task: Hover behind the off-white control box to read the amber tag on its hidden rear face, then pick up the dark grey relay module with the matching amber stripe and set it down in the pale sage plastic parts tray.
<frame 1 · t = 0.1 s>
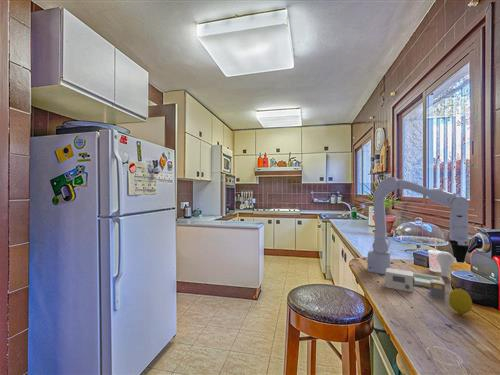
hand: (458, 259, 100), 10 cm above the countertop, fingers open, 7 cm apart
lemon: (460, 314, 77), on the countertop
beverage cup: (435, 270, 118), on the countertop
control box: (399, 286, 98), on the countertop
parts tray: (426, 282, 102), on the countertop
lightbulb: (445, 277, 109), on the countertop
relay module: (437, 295, 91), on the countertop
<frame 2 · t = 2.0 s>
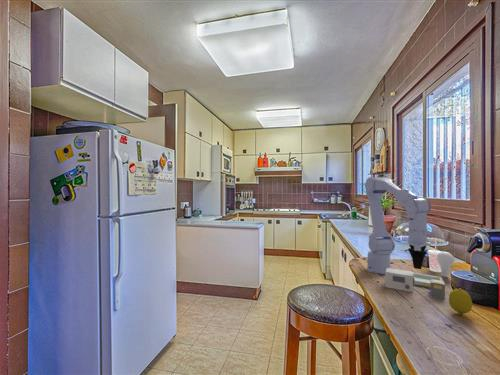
hand: (417, 265, 95), 9 cm above the countertop, fingers open, 7 cm apart
nothing on the countertop moved.
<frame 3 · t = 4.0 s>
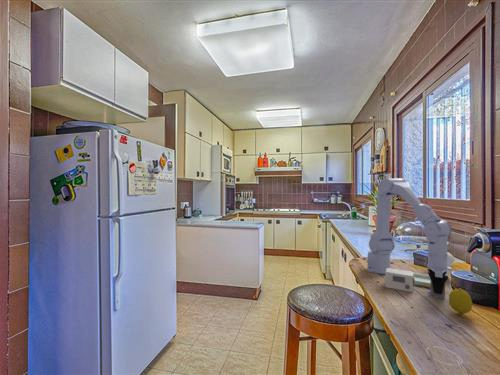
hand: (437, 291, 91), 1 cm above the countertop, fingers closed on relay module, 4 cm apart
relay module: (437, 295, 91), on the countertop, touching gripper
everything else where it was.
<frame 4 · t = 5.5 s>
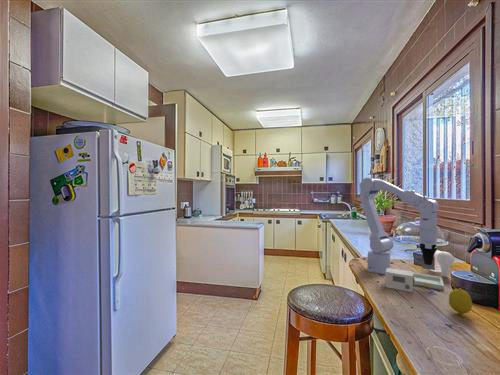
hand: (427, 262, 100), 9 cm above the countertop, fingers closed on relay module, 4 cm apart
relay module: (428, 268, 100), point 7 cm above the countertop, touching gripper
everything else where it was.
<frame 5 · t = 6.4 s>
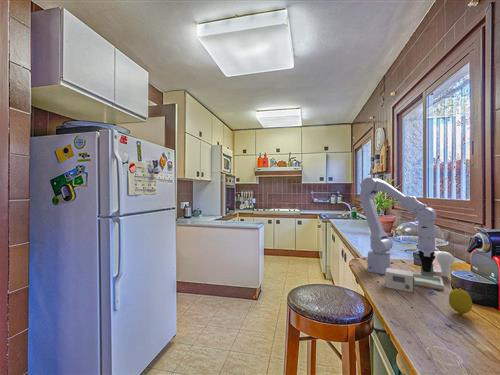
hand: (426, 270, 102), 5 cm above the countertop, fingers closed on relay module, 4 cm apart
relay module: (427, 275, 102), point 3 cm above the countertop, touching gripper
everything else where it was.
when the fingers open (3 cm above the countertop, at t = 7.3 s): relay module stays where it is, resting on parts tray.
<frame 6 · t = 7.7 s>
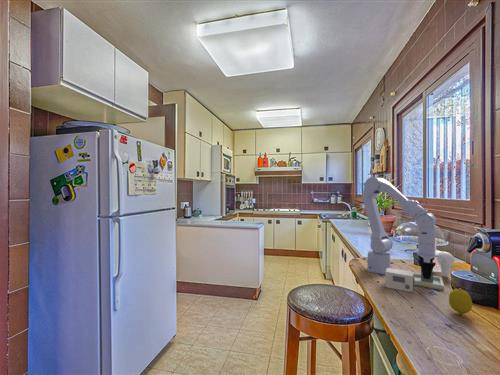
hand: (426, 275, 102), 3 cm above the countertop, fingers open, 7 cm apart
relay module: (426, 281, 102), resting on parts tray
everything else where it was.
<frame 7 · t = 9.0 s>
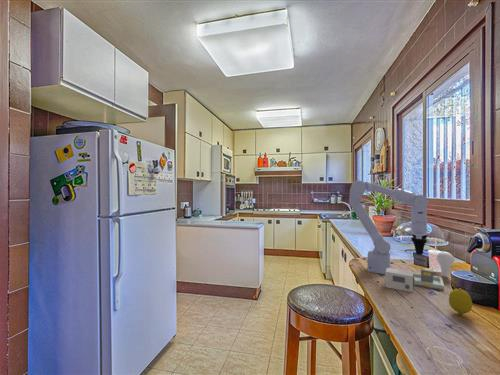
hand: (419, 252, 110), 10 cm above the countertop, fingers open, 7 cm apart
nothing on the countertop moved.
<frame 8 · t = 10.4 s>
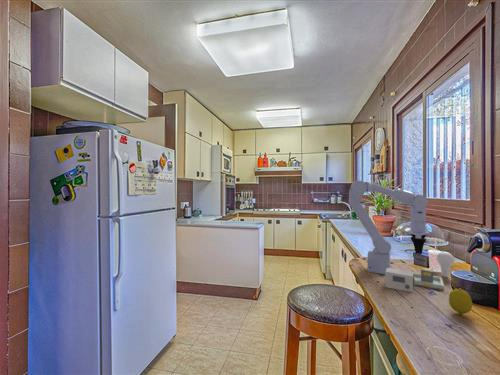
hand: (418, 251, 111), 10 cm above the countertop, fingers open, 7 cm apart
nothing on the countertop moved.
at the end: relay module inside the target area on the parts tray (0.1 cm from its centre), point 0.5 cm above the parts tray's base; the gripper is holding nothing; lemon moved 0.2 cm from its start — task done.
